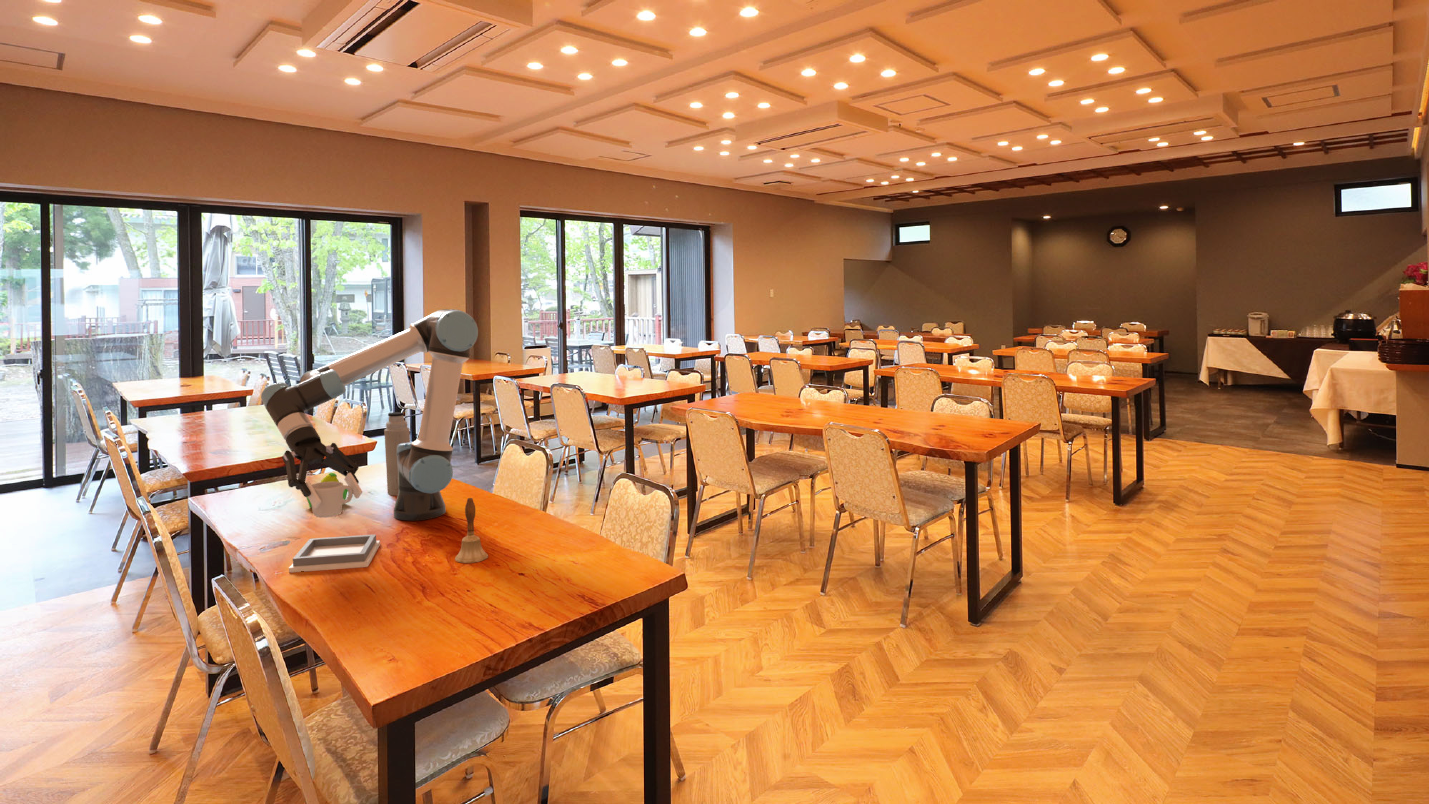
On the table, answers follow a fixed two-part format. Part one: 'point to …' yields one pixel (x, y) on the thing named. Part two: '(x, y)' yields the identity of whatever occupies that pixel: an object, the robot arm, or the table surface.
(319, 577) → the table surface
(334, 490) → the cup
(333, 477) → the fruit basket
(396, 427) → the thermos bottle
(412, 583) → the table surface
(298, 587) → the table surface
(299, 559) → the gray rimmed square tray
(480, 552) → the hand bell
